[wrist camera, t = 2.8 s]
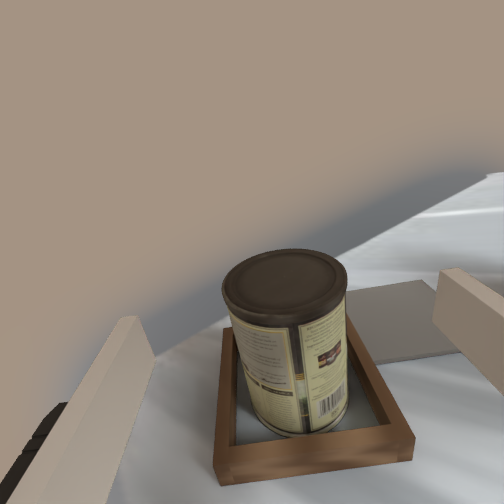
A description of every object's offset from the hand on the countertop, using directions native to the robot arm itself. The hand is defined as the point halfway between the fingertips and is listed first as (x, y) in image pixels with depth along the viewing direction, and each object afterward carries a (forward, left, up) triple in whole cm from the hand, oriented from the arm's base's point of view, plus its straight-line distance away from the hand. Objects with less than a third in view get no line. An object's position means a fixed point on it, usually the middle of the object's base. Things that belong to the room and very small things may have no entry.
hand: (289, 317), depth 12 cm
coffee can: (-1, -10, -18) cm, 21 cm away
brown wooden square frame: (-1, -10, -18) cm, 21 cm away
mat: (-16, -18, -18) cm, 30 cm away
